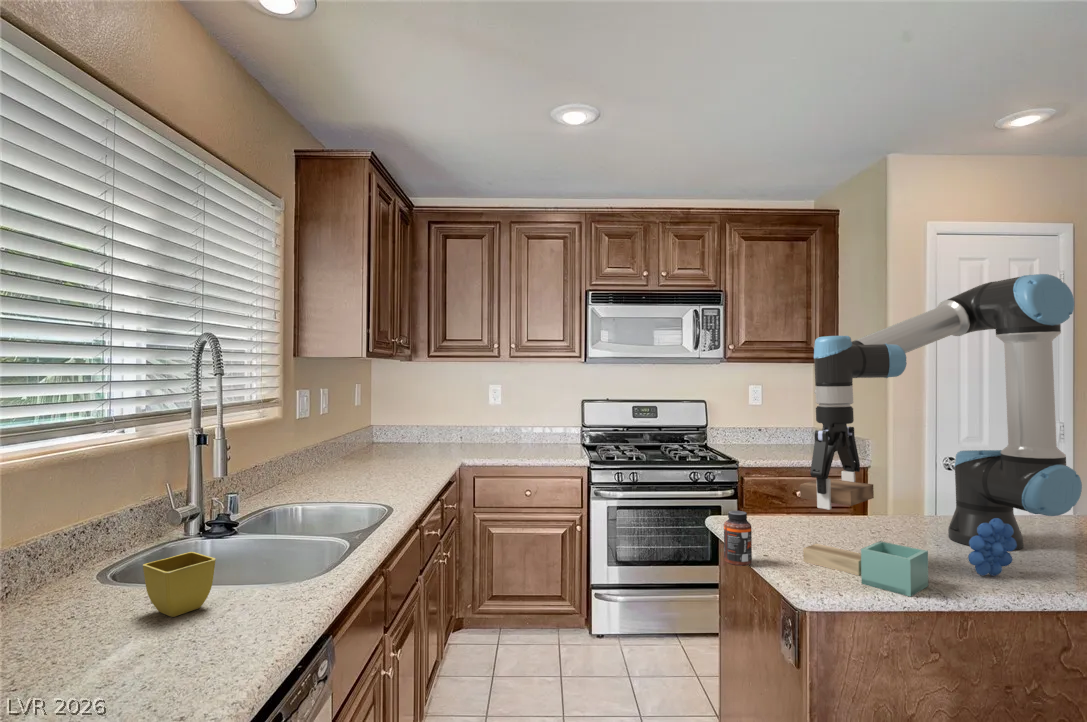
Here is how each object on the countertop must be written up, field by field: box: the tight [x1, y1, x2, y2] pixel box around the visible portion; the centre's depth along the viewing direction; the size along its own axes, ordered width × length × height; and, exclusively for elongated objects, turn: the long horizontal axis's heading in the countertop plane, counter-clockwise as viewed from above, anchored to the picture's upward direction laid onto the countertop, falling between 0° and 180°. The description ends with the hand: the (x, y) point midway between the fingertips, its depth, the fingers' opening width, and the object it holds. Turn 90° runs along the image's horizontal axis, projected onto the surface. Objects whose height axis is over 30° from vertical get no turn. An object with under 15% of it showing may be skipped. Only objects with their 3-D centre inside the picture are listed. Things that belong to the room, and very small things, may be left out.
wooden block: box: [802, 543, 861, 576], centre depth 132 cm, size 6×12×3 cm, turn 39°
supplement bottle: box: [723, 510, 753, 567], centre depth 134 cm, size 6×6×11 cm
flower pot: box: [142, 551, 216, 618], centre depth 108 cm, size 9×9×9 cm
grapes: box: [967, 518, 1017, 577], centre depth 126 cm, size 12×7×12 cm, turn 103°
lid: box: [799, 478, 875, 507], centre depth 132 cm, size 11×11×3 cm
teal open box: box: [860, 540, 929, 598], centre depth 120 cm, size 9×9×7 cm
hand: (837, 504), depth 132 cm, fingers closed on lid, 11 cm apart
